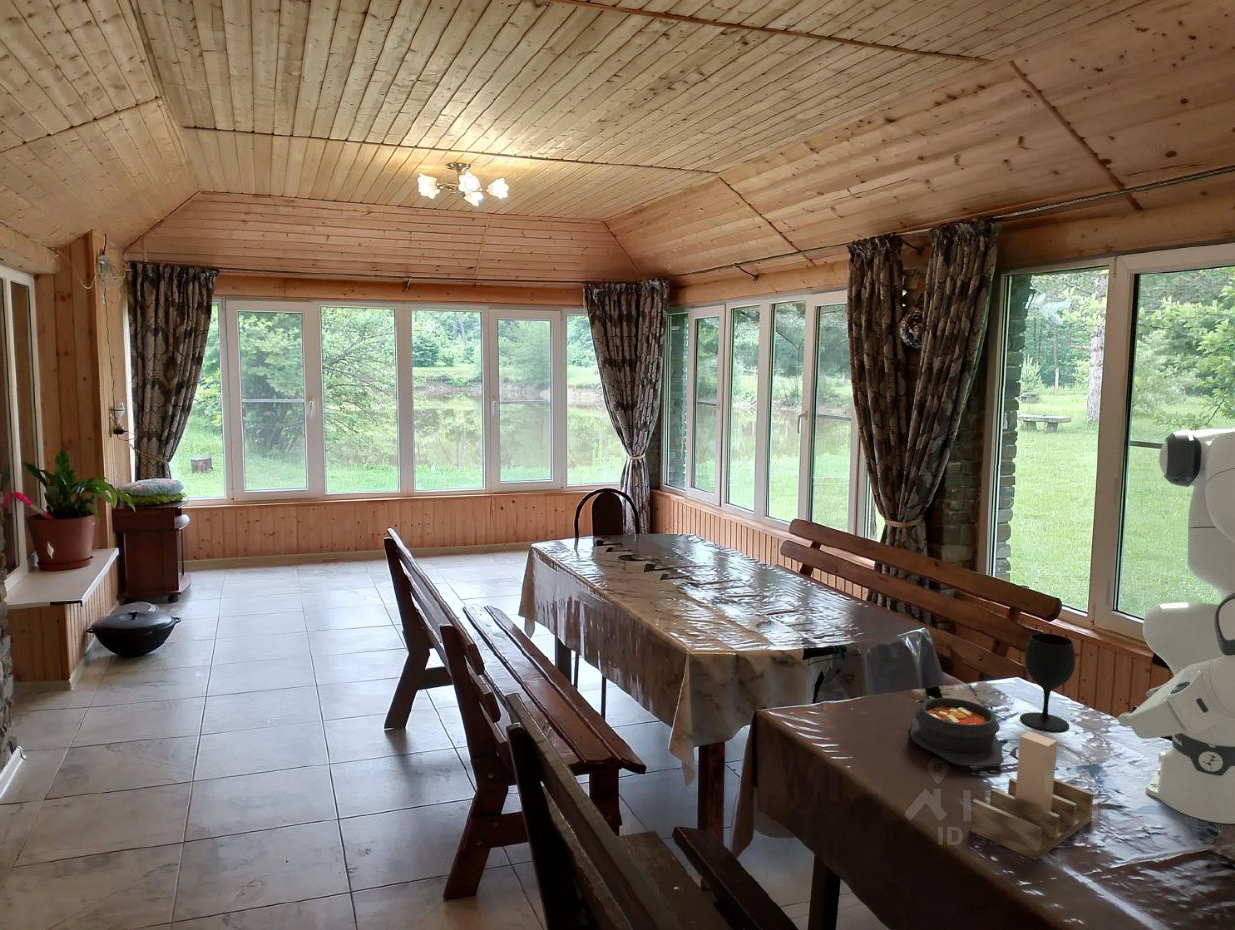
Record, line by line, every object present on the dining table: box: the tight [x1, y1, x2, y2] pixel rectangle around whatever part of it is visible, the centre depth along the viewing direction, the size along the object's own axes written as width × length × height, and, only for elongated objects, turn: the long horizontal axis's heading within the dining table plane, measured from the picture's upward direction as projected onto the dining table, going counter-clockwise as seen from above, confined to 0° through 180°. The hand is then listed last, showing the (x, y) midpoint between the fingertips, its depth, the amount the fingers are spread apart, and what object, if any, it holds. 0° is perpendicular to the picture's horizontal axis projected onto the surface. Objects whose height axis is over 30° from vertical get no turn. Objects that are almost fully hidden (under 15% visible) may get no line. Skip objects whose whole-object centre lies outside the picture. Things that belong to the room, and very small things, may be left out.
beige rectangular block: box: [1015, 731, 1058, 812], centre depth 162 cm, size 5×4×15 cm
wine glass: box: [1019, 632, 1077, 733], centre depth 207 cm, size 10×10×20 cm
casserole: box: [909, 697, 1005, 768], centre depth 194 cm, size 25×19×8 cm
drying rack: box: [969, 777, 1094, 861], centre depth 163 cm, size 12×21×6 cm, turn 129°
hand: (1135, 708), depth 151 cm, fingers open, 8 cm apart
